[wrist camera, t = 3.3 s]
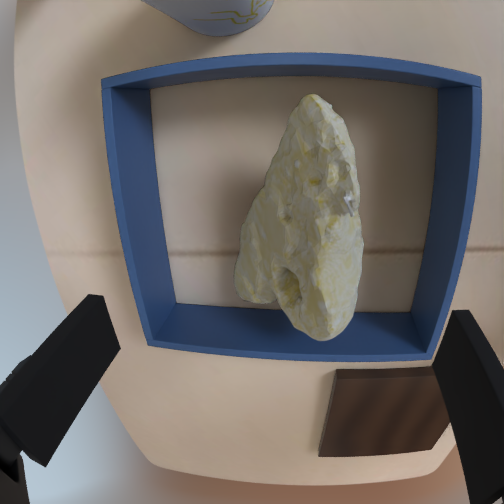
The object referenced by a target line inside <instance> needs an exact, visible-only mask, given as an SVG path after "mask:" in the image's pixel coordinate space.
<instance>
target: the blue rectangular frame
mask: <svg viewBox="0 0 504 504" xmlns="http://www.w3.org/2000/svg"><path fill="white" fill-rule="evenodd" d="M265 76H327V77H347V78H361V79H373V80H383V81H391V82H399V83H407V84H414V85H420V86H426V87H432V88H438V128H437V149H436V164H435V175H434V185H433V194H432V203H431V210H430V217H429V224H428V231H427V237H426V243H425V248H424V254H423V259H422V264H421V269H420V273H419V278H418V283H417V287H416V291H415V296H414V300H413V304H412V308H411V312H410V313H359V312H354V314H353V317H352V319H351V320H350V322H349V323H348V325H347V327H346V328H345V329H344V330H343V331H342V332H341V333H340V334H338V335H337V336H336V337H334V338H332V339H330V340H327V341H318V340H315V339H313V338H311V337H310V336H308V335H307V334H306V333H304V332H302V331H300V330H298V329H296V328H295V327H294V326H293V325H292V323H291V321H290V319H289V318H288V316H287V315H286V314H285V312H284V311H283V310H267V309H249V308H233V307H218V306H205V305H192V304H181V303H176V299H175V293H174V288H173V282H172V277H171V271H170V265H169V259H168V253H167V247H166V240H165V234H164V227H163V220H162V213H161V206H160V198H159V190H158V181H157V173H156V163H155V154H154V143H153V132H152V120H151V106H150V90H149V89H152V88H158V87H164V86H170V85H177V84H184V83H192V82H200V81H209V80H219V79H231V78H245V77H265ZM101 85H102V89H103V90H102V105H103V118H104V129H105V139H106V148H107V157H108V164H109V172H110V179H111V186H112V192H113V198H114V205H115V210H116V216H117V221H118V227H119V232H120V237H121V242H122V247H123V252H124V256H125V261H126V265H127V270H128V274H129V278H130V282H131V287H132V291H133V295H134V298H135V302H136V306H137V310H138V314H139V317H140V321H141V324H142V328H143V331H144V335H145V338H146V341H147V344H148V346H154V347H161V348H168V349H175V350H182V351H190V352H198V353H207V354H216V355H226V356H236V357H248V358H261V359H276V360H294V361H322V362H388V361H414V360H431V359H432V356H433V354H434V351H435V349H436V346H437V343H438V341H439V338H440V335H441V332H442V330H443V327H444V324H445V321H446V318H447V315H448V312H449V308H450V305H451V302H452V299H453V295H454V292H455V288H456V285H457V281H458V277H459V273H460V270H461V266H462V261H463V257H464V253H465V248H466V244H467V239H468V234H469V229H470V224H471V218H472V213H473V206H474V200H475V193H476V186H477V177H478V168H479V157H480V144H481V124H482V89H481V87H482V86H481V77H480V76H477V75H473V74H469V73H465V72H461V71H457V70H453V69H448V68H444V67H439V66H434V65H429V64H423V63H418V62H412V61H405V60H398V59H391V58H383V57H374V56H364V55H351V54H335V53H262V54H245V55H233V56H222V57H213V58H205V59H197V60H190V61H183V62H177V63H171V64H166V65H160V66H155V67H150V68H145V69H140V70H136V71H131V72H127V73H123V74H119V75H115V76H111V77H107V78H104V79H101Z"/></svg>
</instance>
